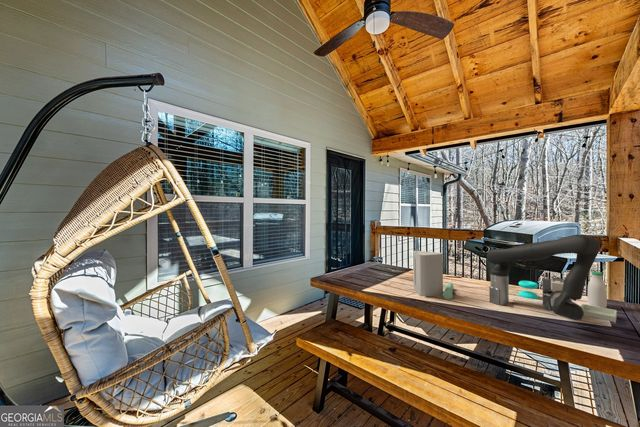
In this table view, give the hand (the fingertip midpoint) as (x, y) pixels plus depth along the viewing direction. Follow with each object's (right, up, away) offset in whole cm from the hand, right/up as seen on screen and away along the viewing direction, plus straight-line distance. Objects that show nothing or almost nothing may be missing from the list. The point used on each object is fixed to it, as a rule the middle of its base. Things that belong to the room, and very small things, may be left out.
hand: (556, 291), depth 152 cm
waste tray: (+12, -10, -11) cm, 19 cm away
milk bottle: (+26, -10, +3) cm, 28 cm away
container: (-47, -11, +31) cm, 57 cm away
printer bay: (-1, -10, -2) cm, 10 cm away
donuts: (-1, -10, +19) cm, 22 cm away
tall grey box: (-63, -11, +31) cm, 71 cm away
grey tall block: (-1, -8, -2) cm, 8 cm away
